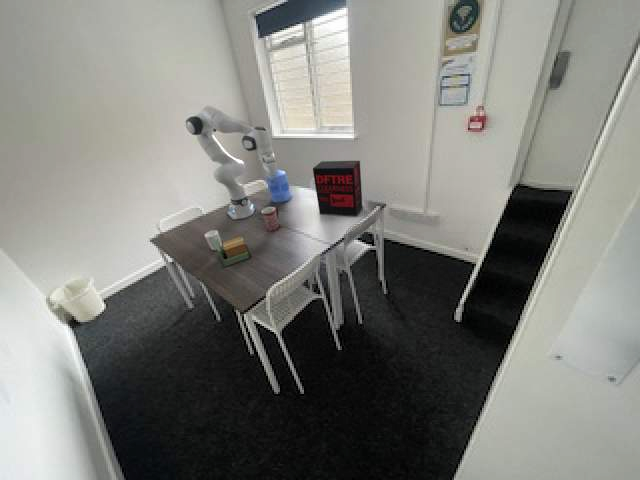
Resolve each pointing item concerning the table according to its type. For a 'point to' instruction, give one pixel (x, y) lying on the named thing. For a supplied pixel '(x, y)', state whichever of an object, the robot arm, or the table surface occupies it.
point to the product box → (338, 187)
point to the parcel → (234, 247)
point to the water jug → (279, 187)
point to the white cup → (213, 239)
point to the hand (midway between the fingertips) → (271, 178)
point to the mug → (271, 218)
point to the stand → (232, 259)
